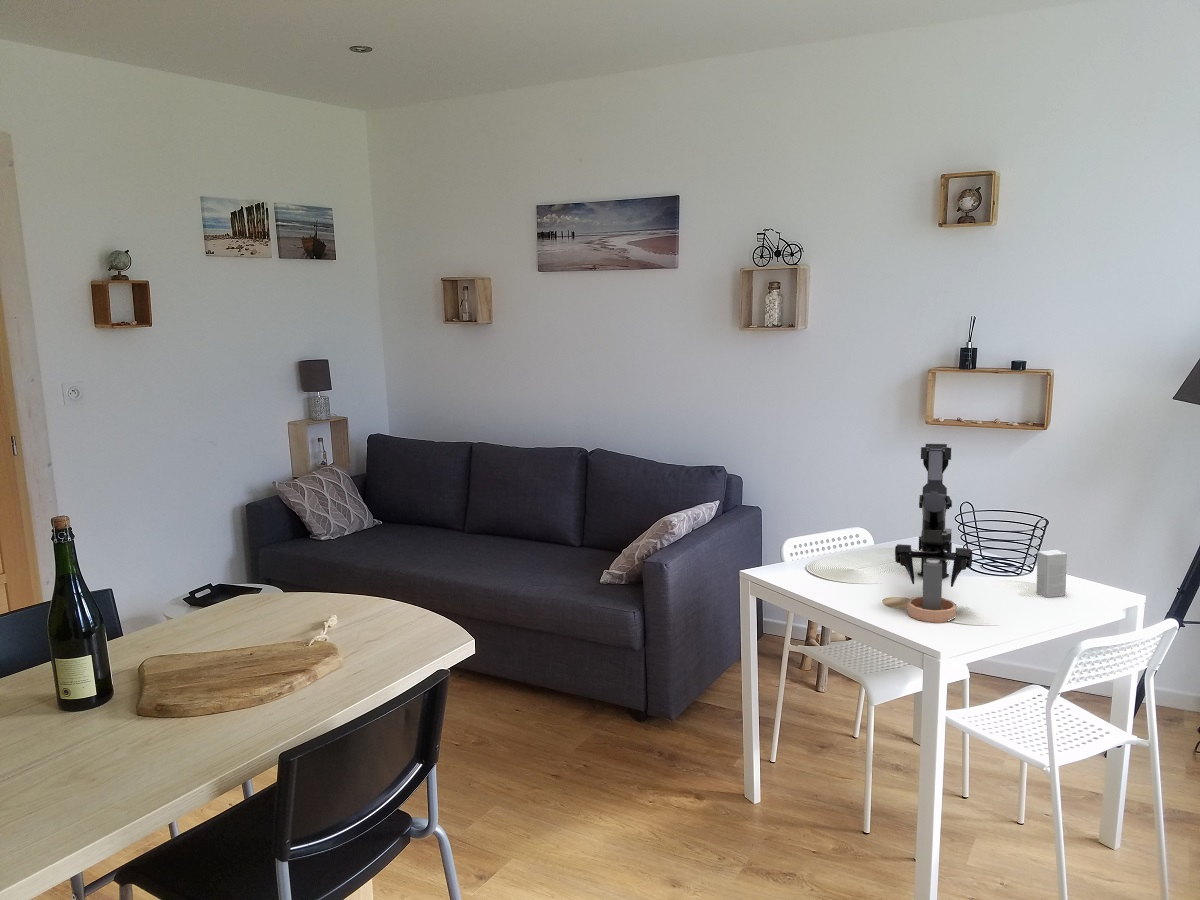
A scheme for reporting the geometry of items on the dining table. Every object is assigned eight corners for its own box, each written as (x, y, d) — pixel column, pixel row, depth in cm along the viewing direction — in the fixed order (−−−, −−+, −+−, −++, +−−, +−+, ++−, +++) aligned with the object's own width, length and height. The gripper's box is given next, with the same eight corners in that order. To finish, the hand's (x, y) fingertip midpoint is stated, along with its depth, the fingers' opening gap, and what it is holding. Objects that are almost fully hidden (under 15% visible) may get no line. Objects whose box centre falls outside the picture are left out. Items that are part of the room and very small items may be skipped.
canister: (922, 607, 225) (923, 556, 223) (941, 609, 223) (942, 557, 221) (922, 613, 221) (923, 561, 219) (941, 614, 219) (942, 562, 217)
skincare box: (1055, 591, 237) (1056, 549, 235) (1065, 596, 233) (1067, 553, 231) (1035, 593, 236) (1036, 551, 234) (1045, 598, 232) (1047, 555, 230)
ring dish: (898, 613, 224) (898, 602, 224) (927, 604, 230) (927, 593, 230) (936, 626, 214) (936, 614, 214) (965, 616, 220) (965, 605, 220)
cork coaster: (876, 605, 232) (876, 603, 232) (891, 596, 239) (891, 594, 238) (908, 612, 226) (908, 610, 226) (922, 603, 232) (922, 601, 232)
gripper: (895, 514, 225) (893, 567, 217) (973, 518, 219) (973, 572, 210) (896, 536, 234) (894, 587, 226) (971, 540, 227) (971, 593, 219)
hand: (932, 584), depth 220 cm, fingers open, 9 cm apart
